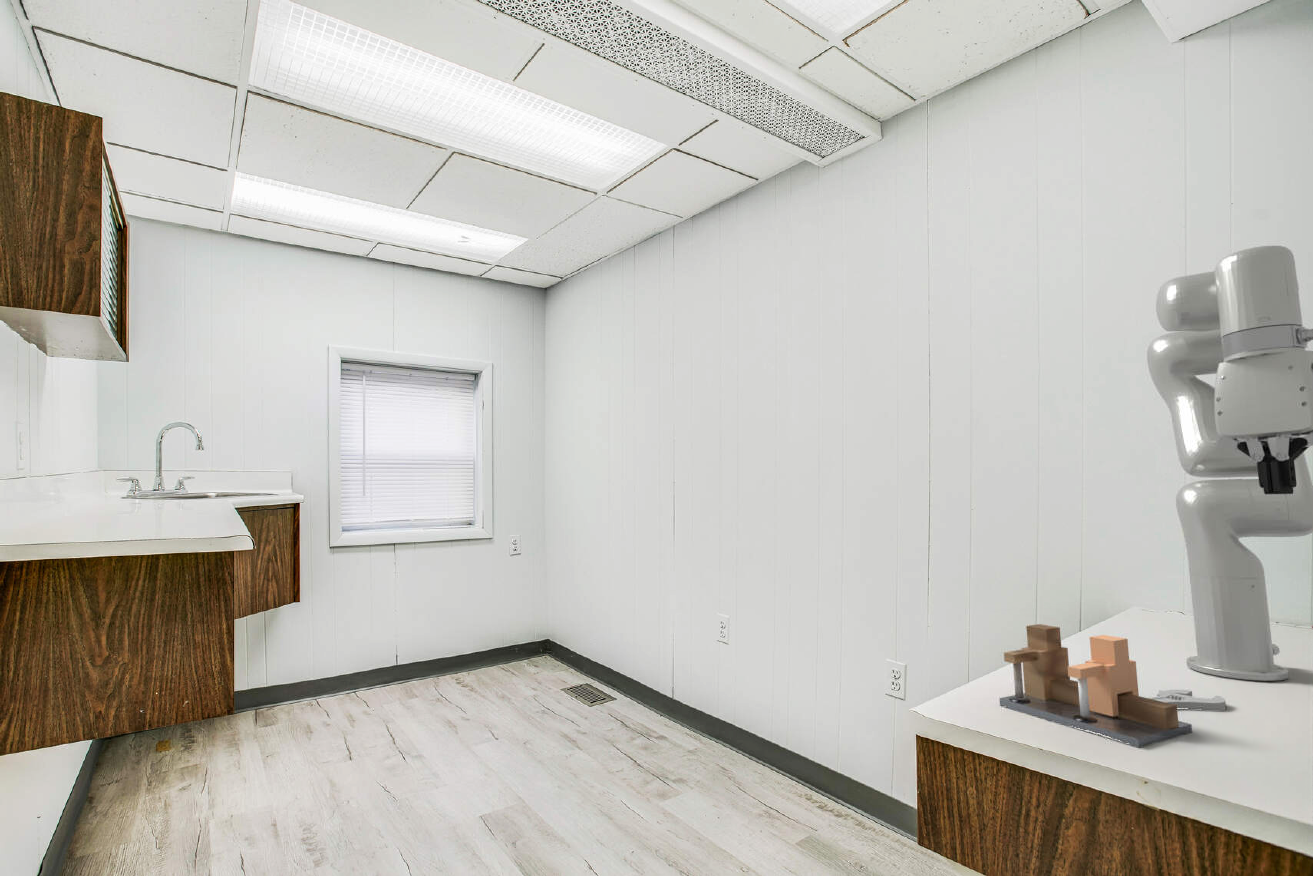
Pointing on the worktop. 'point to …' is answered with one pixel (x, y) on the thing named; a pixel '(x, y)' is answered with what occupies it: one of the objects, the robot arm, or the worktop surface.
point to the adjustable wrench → (1190, 700)
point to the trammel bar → (1051, 680)
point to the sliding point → (1105, 675)
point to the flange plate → (1095, 721)
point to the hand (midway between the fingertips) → (1278, 493)
